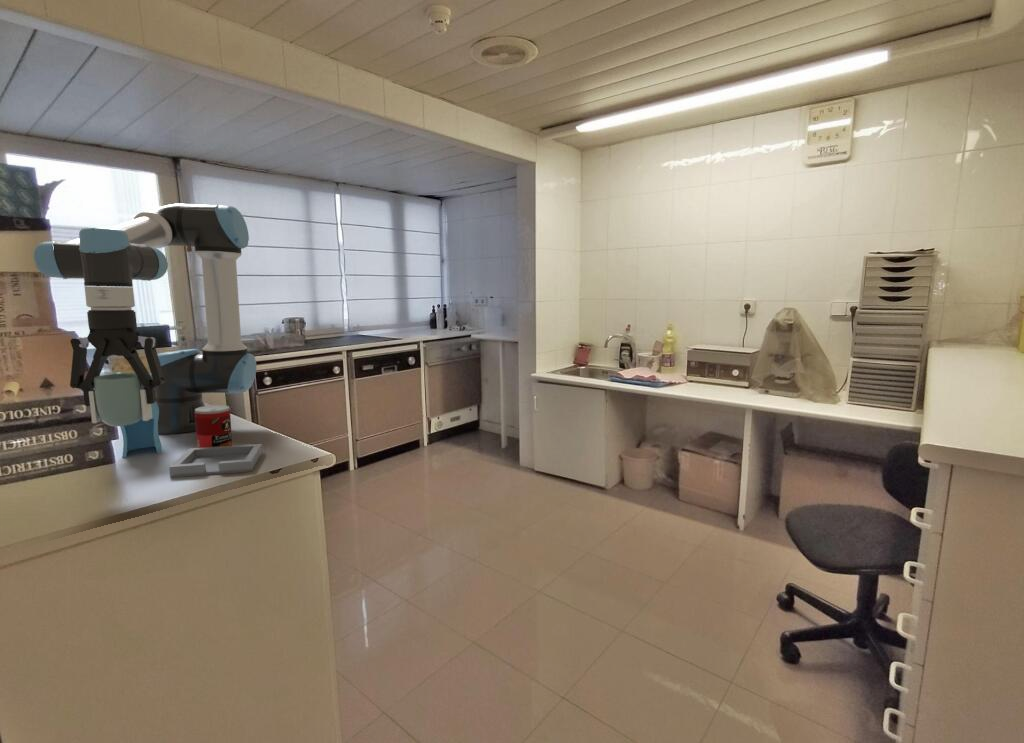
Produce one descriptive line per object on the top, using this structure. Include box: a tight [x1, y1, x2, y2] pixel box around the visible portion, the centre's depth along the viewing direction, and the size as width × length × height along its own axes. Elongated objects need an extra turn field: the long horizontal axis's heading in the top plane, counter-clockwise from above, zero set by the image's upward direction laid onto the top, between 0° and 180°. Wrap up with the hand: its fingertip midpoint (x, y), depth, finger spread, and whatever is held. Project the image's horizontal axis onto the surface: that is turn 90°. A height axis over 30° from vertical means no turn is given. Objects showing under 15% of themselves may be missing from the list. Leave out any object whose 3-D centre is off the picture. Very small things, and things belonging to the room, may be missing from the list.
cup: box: [94, 372, 144, 427], centre depth 101 cm, size 8×8×10 cm
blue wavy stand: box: [116, 371, 163, 459], centre depth 125 cm, size 8×8×20 cm
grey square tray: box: [169, 443, 263, 478], centre depth 117 cm, size 14×16×2 cm
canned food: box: [195, 404, 233, 448], centre depth 128 cm, size 8×8×11 cm
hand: (123, 420), depth 102 cm, fingers closed on cup, 8 cm apart
